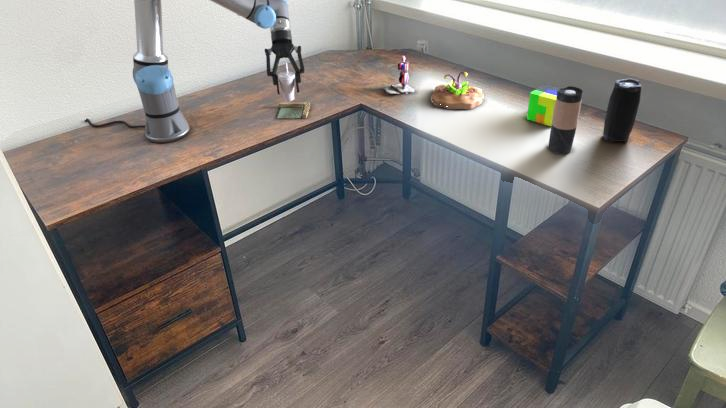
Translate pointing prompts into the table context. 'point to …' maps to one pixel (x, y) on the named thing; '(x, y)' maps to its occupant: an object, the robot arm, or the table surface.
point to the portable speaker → (622, 110)
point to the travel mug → (565, 119)
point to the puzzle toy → (542, 104)
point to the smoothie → (287, 84)
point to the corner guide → (293, 110)
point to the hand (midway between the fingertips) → (288, 91)
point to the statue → (401, 80)
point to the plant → (457, 94)
